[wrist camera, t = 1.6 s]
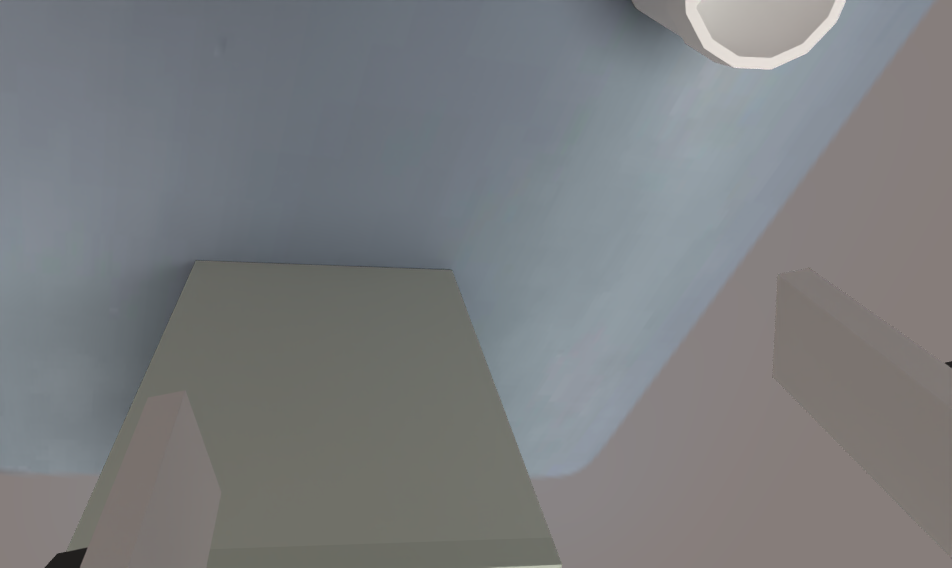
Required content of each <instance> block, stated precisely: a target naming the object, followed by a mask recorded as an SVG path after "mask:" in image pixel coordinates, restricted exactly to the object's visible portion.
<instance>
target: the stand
mask: <svg viewBox="0 0 952 568" xmlns="http://www.w3.org/2000/svg"><path fill="white" fill-rule="evenodd" d="M184 390H186V393H187V396H188V399H189V402H190V405H191V407H192V410H193V413H194V416H195V419H196V422H197V424H198V427H199V430H200V433H201V436H202V439H203V441H204V444H205V447H206V450H207V453H208V456H209V458H210V461H211V464H212V467H213V470H214V473H215V475H216V478H217V481H218V484H219V487H220V490H221V497H220V502H219V507H218V512H217V517H216V522H215V527H214V532H213V537H212V542H211V547H210V552H209V557H208V562H207V567H206V568H562V563H561V561H560V558H559V555H558V552H557V550H556V547H555V544H554V542H553V539H552V537H551V534H550V531H549V528H548V526H547V523H546V520H545V518H544V515H543V512H542V510H541V507H540V505H539V502H538V499H537V496H536V494H535V491H534V488H533V486H532V483H531V480H530V478H529V475H528V472H527V469H526V467H525V464H524V461H523V459H522V456H521V453H520V451H519V448H518V445H517V443H516V440H515V437H514V435H513V432H512V429H511V427H510V424H509V421H508V419H507V416H506V413H505V411H504V408H503V405H502V403H501V400H500V397H499V395H498V392H497V389H496V387H495V384H494V381H493V379H492V376H491V373H490V371H489V368H488V365H487V363H486V360H485V357H484V355H483V352H482V349H481V347H480V344H479V341H478V339H477V336H476V333H475V331H474V328H473V325H472V323H471V320H470V317H469V314H468V312H467V309H466V306H465V304H464V301H463V298H462V296H461V293H460V290H459V288H458V285H457V282H456V280H455V277H454V274H453V272H452V270H438V269H411V268H385V267H358V266H331V265H304V264H277V263H251V262H224V261H197V260H196V261H195V264H194V266H193V268H192V270H191V273H190V275H189V277H188V279H187V282H186V284H185V286H184V288H183V290H182V293H181V295H180V297H179V299H178V302H177V304H176V306H175V308H174V311H173V313H172V315H171V317H170V320H169V322H168V324H167V326H166V329H165V331H164V333H163V335H162V338H161V340H160V342H159V344H158V347H157V349H156V351H155V353H154V356H153V358H152V360H151V362H150V364H149V367H148V369H147V371H146V373H145V376H144V378H143V380H142V382H141V385H140V387H139V389H138V391H137V394H136V396H135V398H134V400H133V403H132V405H131V407H130V409H129V412H128V414H127V416H126V418H125V421H124V423H123V425H122V427H121V430H120V432H119V434H118V436H117V438H116V441H115V443H114V445H113V447H112V450H111V452H110V454H109V456H108V459H107V461H106V463H105V465H104V468H103V470H102V472H101V474H100V477H99V479H98V481H97V483H96V486H95V488H94V490H93V492H92V495H91V497H90V499H89V501H88V504H87V506H86V508H85V510H84V512H83V515H82V517H81V519H80V521H79V524H78V526H77V528H76V530H75V533H74V535H73V537H72V539H71V542H70V544H69V546H68V548H67V551H66V552H68V551H73V550H77V549H82V548H87V547H88V546H89V543H90V541H91V538H92V536H93V533H94V531H95V528H96V526H97V524H98V521H99V519H100V516H101V514H102V511H103V509H104V506H105V504H106V501H107V499H108V496H109V494H110V491H111V489H112V486H113V484H114V481H115V479H116V476H117V474H118V471H119V469H120V466H121V464H122V461H123V459H124V456H125V454H126V451H127V449H128V446H129V444H130V441H131V439H132V436H133V434H134V431H135V429H136V426H137V424H138V421H139V419H140V416H141V414H142V411H143V409H144V406H145V404H146V401H147V399H148V397H154V396H159V395H164V394H169V393H174V392H179V391H184Z"/></svg>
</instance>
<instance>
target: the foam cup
mask: <svg viewBox="0 0 952 568" xmlns="http://www.w3.org/2000/svg"><path fill="white" fill-rule="evenodd" d="M631 1H632V2H633V4H634V6H635V8H637V9H638V10H639V11H641V12H642V13H644V14H645V15H647V16H649V17H650V18H652V19H653V20H655V21H656V22H658V23H660V24H661V25H663V26H664V27H666V28H668V29H669V30H671V31H672V32H674V33H676V34H677V35H679V36H680V37H682V38H683V40H684V42H685V44H687V45H688V46H690V47H692V48H693V49H695V50H696V51H698V52H699V53H701V54H702V55H704V56H706V57H707V58H709V59H710V60H712V61H713V62H716V63H719V64H723V65H726V66H729V67H733V68H748V69H770V70H771V69H773V68H775V67H777V66H780V65H782V64H784V63H786V62H789V61H791V60H793V59H795V58H798V57H800V56H802V55H804V54H807V53H808V52H809V51H810V50H811V49H812V47H813V46H814V45H815V44H816V43H817V42H818V41H819V40H820V39H821V38H822V37H823V36H824V35H825V34H826V33H827V32H828V31H829V30H830V29H831V28H832V26H833V25H834V24H835V23H836V22H837V20H838V18H839V15H840V13H841V11H842V9H843V6H844V4H845V2H846V0H631Z"/></svg>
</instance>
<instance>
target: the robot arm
mask: <svg viewBox="0 0 952 568" xmlns="http://www.w3.org/2000/svg"><path fill="white" fill-rule="evenodd" d="M772 377H773V378H774V379H775V380H776V381H777V382H778V383H779V384H780V385H781V386H782V387H783V388H784V389H785V390H786V391H787V392H788V393H789V394H790V395H791V396H792V397H793V398H794V399H795V400H796V401H797V402H798V403H799V404H800V405H801V406H802V407H803V408H804V409H805V410H806V412H808V413H809V415H811V417H812V418H814V420H815V421H816V422H817V423H818V424H819V425H820V426H821V427H822V428H823V429H824V430H825V431H826V432H827V433H828V434H829V435H830V436H831V437H832V438H833V439H834V440H835V441H836V442H837V443H838V444H839V445H840V446H841V447H842V448H843V449H844V450H845V451H846V452H847V453H848V454H849V455H850V456H851V457H852V458H853V459H854V460H855V461H856V462H857V463H858V464H859V465H860V466H861V467H862V468H863V469H864V470H865V471H866V472H867V473H868V474H869V475H870V476H871V477H872V479H873V480H874V481H875V482H876V483H877V484H878V485H879V486H880V487H881V488H882V489H883V490H884V491H886V493H887V494H888V495H889V496H890V497H891V498H892V499H893V500H894V501H895V502H896V503H897V504H898V505H899V506H900V507H901V508H902V509H903V510H904V511H905V512H906V513H907V514H908V515H909V516H910V517H911V518H912V519H913V520H914V521H915V522H916V523H917V524H918V525H919V526H920V527H921V528H922V529H923V530H924V531H925V532H926V533H927V534H928V535H929V536H930V537H931V538H932V539H933V540H934V541H935V542H936V543H937V544H938V545H939V547H940V548H941V549H943V551H944V552H945V553H946V554H947V555H949V557H950V558H952V361H951V362H946V363H944V362H942V361H941V360H939V359H938V358H936V357H935V356H934V355H932V354H931V353H929V352H928V351H927V350H925V349H924V348H922V347H921V346H920V345H918V344H917V343H915V342H914V341H912V340H911V339H909V338H908V337H907V336H905V335H904V334H902V333H901V332H900V331H898V330H897V329H895V328H894V327H893V326H891V325H890V324H888V323H887V322H885V321H884V320H883V319H881V318H880V317H878V316H877V315H875V314H874V313H873V312H871V311H870V310H869V309H867V308H866V307H864V306H863V305H861V304H860V303H859V302H857V301H856V300H854V299H853V298H852V297H850V296H849V295H847V294H846V293H844V292H843V291H842V290H840V289H839V288H837V287H836V286H835V285H833V284H831V283H830V282H829V281H827V280H826V279H825V278H823V277H822V276H820V275H819V274H818V273H816V272H815V271H813V270H812V269H810V268H806V269H801V270H796V271H791V272H786V273H781V274H778V277H777V296H776V316H775V335H774V354H773V374H772ZM220 497H221V490H220V487H219V484H218V481H217V478H216V475H215V473H214V470H213V467H212V464H211V461H210V458H209V456H208V453H207V450H206V447H205V444H204V441H203V439H202V436H201V433H200V430H199V427H198V424H197V422H196V419H195V416H194V413H193V410H192V407H191V405H190V402H189V399H188V396H187V393H186V390H184V391H179V392H174V393H169V394H164V395H159V396H154V397H148V399H147V401H146V404H145V406H144V409H143V411H142V414H141V416H140V419H139V421H138V424H137V426H136V429H135V431H134V434H133V436H132V439H131V441H130V444H129V446H128V449H127V451H126V454H125V456H124V459H123V461H122V464H121V466H120V469H119V471H118V474H117V476H116V479H115V481H114V484H113V486H112V489H111V491H110V494H109V496H108V499H107V501H106V504H105V506H104V509H103V511H102V514H101V516H100V519H99V521H98V524H97V526H96V528H95V531H94V533H93V536H92V538H91V541H90V543H89V546H88V547H87V548H82V549H77V550H73V551H68V552H63V553H59V554H57V555H56V556H55V557H54V558H53V559H52V560H51V561H50V562H49V564H48V565H47V566H46V567H45V568H206V567H207V562H208V557H209V552H210V547H211V542H212V537H213V532H214V527H215V522H216V517H217V512H218V507H219V502H220Z"/></svg>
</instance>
